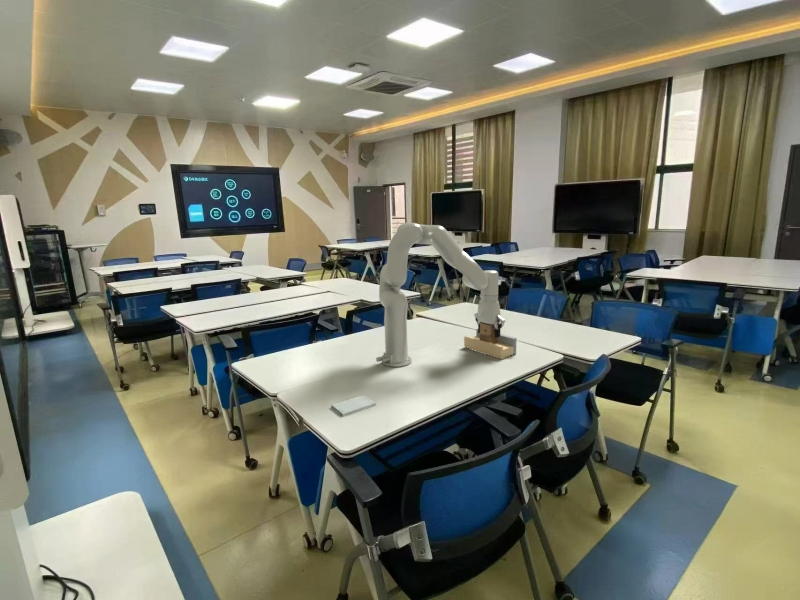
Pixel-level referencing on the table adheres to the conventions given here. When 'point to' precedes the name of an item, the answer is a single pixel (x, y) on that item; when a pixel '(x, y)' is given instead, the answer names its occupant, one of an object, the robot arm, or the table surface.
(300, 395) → the table surface
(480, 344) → the cleat board
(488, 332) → the cabinet block
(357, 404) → the hard drive
